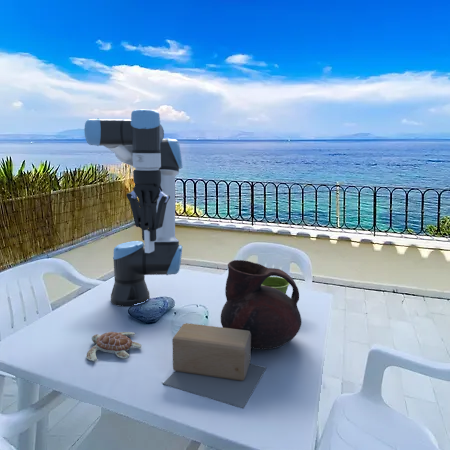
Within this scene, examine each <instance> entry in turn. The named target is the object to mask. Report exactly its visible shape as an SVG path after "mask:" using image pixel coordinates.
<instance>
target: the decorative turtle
mask: <svg viewBox="0 0 450 450" xmlns="http://www.w3.org/2000/svg"><path fill="white" fill-rule="evenodd" d="M135 335H136V333H135V332H133V331H132V332H130V331H120V332H117V331H115V332H114V331H107V332H105V333H103V334H94V335H92V336H91V341H92V342H93V343H94V344H95V345H93V346H92V347H91V348H90V349H89V350H88V351H87V352H86V355H85V357H86V359H87V360H89V361H91V362H96V361H97V360H98V357H97V355H96V354H97V351H98V350H99V351H101V352H104V353H109V354H115V355H116V357H118V358H121V359H126V358H129V357H130V354H129V353H128V352H127V351H130V348H131V347H134V348H136V349H141V348H142V347H143V346H142V344H141V343H139V342H136V341H132V339H131V338H130V337H128V336H135Z"/></svg>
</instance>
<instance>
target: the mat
mask: <svg viewBox="0 0 450 450" xmlns="http://www.w3.org/2000/svg"><path fill="white" fill-rule="evenodd" d="M266 369H267V367H266V366H262V365H258V364H254V363H250V364H249V367H248V371H247V374H246V377H245V379H244V380H243V381H239V380H233V379H226V378H219V377H213V376H206V375H199V374H192V373H186V372H179V371H175V370H174V372H172V374H171V375H170V376H168V377H167V379H166V380H164V382H162V385H163V386H166V387H170V388H174V389H177V390H180V391H183V392H186V393H190V394H193V395H197V396H199V397H204V398H207V399H210V400H213V401H216V402H220V403H224V404H227V405H230V406H234V407H237V408H240V409H245V406H246V405H247V403H248V401H249V399H250V398H251V395H252V394H253V392H254V390H255V389H256V388H257V385H258V384H259V382H260V380H261V378H262V377H263V374H264V373H265V371H267V370H266Z"/></svg>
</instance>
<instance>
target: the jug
mask: <svg viewBox="0 0 450 450" xmlns="http://www.w3.org/2000/svg"><path fill="white" fill-rule="evenodd" d="M227 268H228V271H227V272H228V273H227V278H226V282H225V289H224V291H225V299H226V302H225V303H224V305H223V306H222V310H221V312H220V313H221V314H220V324H221V326H222V327H223V328H231V329H239V330H248V331H250V333H251V349H254V350H271V349H275V348H277V349H278V348H279V347H282V346H284V345H286V344H287V343H289V342H291V341H292V340H293V339H294V338H295V337H296V336H297V335H298V333H299V331H300V329H301V327H302V326H301V325H302V316H301V312H300V309H299V307H298V302H299V300H300V291H299V288H298V286H297V284H296V282H295V280H294V279H293V278H292V277H291V275H289V274H288V273H287V272H285V271H284V270H282V269H280V268H275V267H274V268H272V267H267V266H264V265H262V264H260V263H257V262H253V261H248V260H244V259H243V260H242V259H234V260H231V261H230V262H228V263H227ZM267 277H281V278H284V279H285V280H286V281H287V282H288V283H289V286H291V288H292V293H291V296H289V295H288V294H287V293H286V294H285V293H283V292H282V291H280V290H278V289H276V288H273V287H269V286H263V285H261V284H262V283H263V282H264V280H265V279H266V278H267Z"/></svg>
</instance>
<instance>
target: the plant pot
mask: <svg viewBox="0 0 450 450" xmlns="http://www.w3.org/2000/svg"><path fill="white" fill-rule="evenodd" d="M261 285H263V286H269V287H273V288H276V289H278V290H280V291H282V292H283V293H285V294H286V295H287V290H288V287H289V286H290V284H289V283H288V282H287V281H286V280H285V279H284V278H282V277H279V276H270V277H267V278H266V279H265V280H264V282H263V283H262V284H261Z"/></svg>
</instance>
